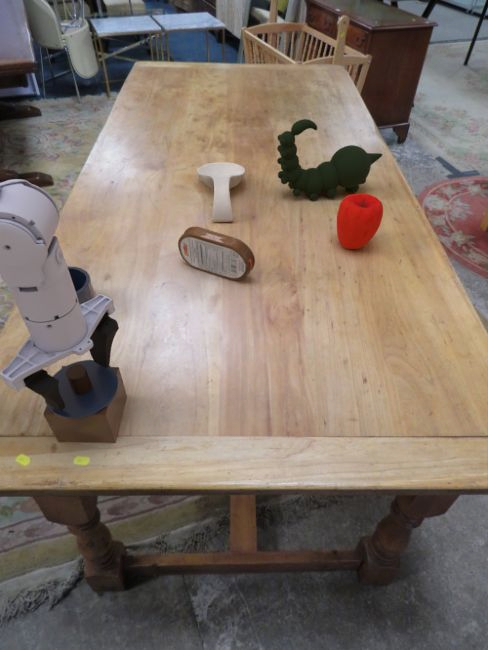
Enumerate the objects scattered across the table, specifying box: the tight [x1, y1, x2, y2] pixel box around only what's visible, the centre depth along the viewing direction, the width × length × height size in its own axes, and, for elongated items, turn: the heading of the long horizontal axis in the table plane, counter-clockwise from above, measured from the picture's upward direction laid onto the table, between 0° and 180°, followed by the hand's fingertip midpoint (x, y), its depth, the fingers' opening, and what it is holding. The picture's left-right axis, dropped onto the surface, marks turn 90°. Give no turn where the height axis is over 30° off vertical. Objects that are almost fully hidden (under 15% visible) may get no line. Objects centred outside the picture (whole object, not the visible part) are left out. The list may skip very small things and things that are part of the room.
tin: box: [177, 226, 256, 281], centre depth 80 cm, size 15×3×8 cm, turn 65°
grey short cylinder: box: [67, 265, 97, 305], centre depth 74 cm, size 8×8×5 cm
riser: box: [42, 365, 128, 444], centre depth 58 cm, size 8×8×6 cm
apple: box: [336, 192, 384, 250], centre depth 87 cm, size 9×9×11 cm
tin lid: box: [44, 359, 119, 420], centre depth 54 cm, size 9×9×4 cm
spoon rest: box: [196, 161, 246, 223], centre depth 101 cm, size 24×12×7 cm, turn 4°
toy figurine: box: [276, 118, 383, 201], centre depth 100 cm, size 9×19×25 cm
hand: (80, 383), depth 55 cm, fingers open, 7 cm apart
